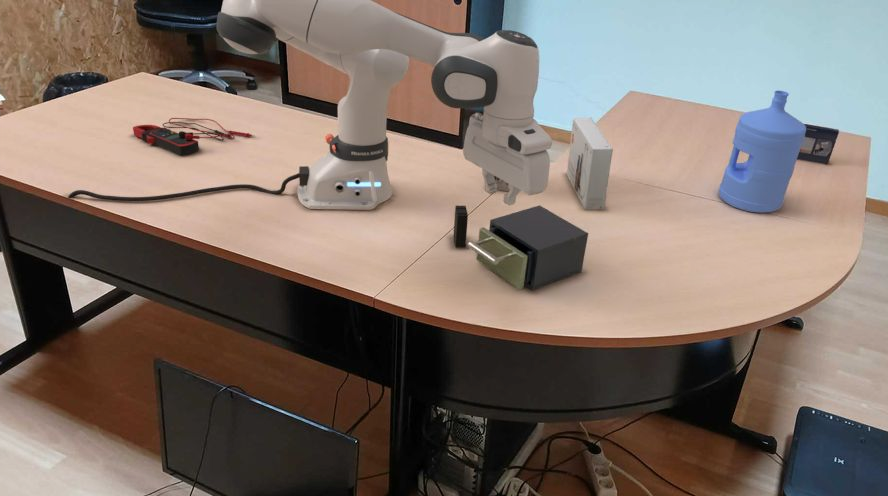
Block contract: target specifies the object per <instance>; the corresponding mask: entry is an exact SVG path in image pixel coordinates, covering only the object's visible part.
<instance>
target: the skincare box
mask: <svg viewBox="0 0 888 496" xmlns="http://www.w3.org/2000/svg"><path fill="white" fill-rule="evenodd" d="M613 151H614V148H613V146H612V145H611V144H610V142H609V141H608V140H607V137H606V136H605V135H604V133H603V132H602V130H601V129H600V128H599V127H598V125H597V123H596V122H595V121H594V118H592V117H591V116H590V117H573V118H572V125H571V133H570V141H569V150H568V159H567V166H566V167H567V168H566V176H567V178H568V180H569V181H570V184H571V186H572V187H573V190H574V191H575V194H576V195H577V197H578V199H579V202H580V203H581V205H582V207H583V209H584V210H587V211H589V210H590V211H591V210H592V211H593V210H596V211H597V210H598V211H599V210H600V211H601V210H602V211H603V210H605V207H606V198H607V190H608V186H609V179H610V171H611V164H612V158H613Z"/></svg>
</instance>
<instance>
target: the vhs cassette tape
mask: <svg viewBox="0 0 888 496" xmlns="http://www.w3.org/2000/svg"><path fill="white" fill-rule="evenodd" d="M803 124H804V125H805V126H806V133H805V137H804V141H803V144H802V146H801V148H800V151H799V154H798V157H797V160H800V161H805V162H811V163H817V164H822V165H828V164H829V162H830V160H831V156H832V155H833V151H834V148H835V145H836V144H837V143H836V142H837V140H838V137H839V133H840V130H839V129H838V128H834V127H833V128H832V127H828V126H827V127H826V126H819V125H814V124H808V123H803Z"/></svg>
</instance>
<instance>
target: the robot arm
mask: <svg viewBox="0 0 888 496" xmlns="http://www.w3.org/2000/svg"><path fill="white" fill-rule="evenodd" d="M215 27H216V31H217V33H218V35H219V37H220V38H222V39H223V40H224V41H225V42H226V43H227V44H228V45H229V46H230V47H231V48H233V49H234V50H236V51H238V52H241V53H243V54H247V55H248V54H249V55H260V56H261V55H263V54H265V53H267V52H269V51H270V50H271V49H272V47H273V46H274V44H276V42H278V41H281V42H283V43H285V44H287V45H289V46H291V47H293V48H294V49H297V50H299V51H300V52H303V53H305V54H306V55H309V56H311V57H312V58H314V59H316V60H318V61H319V62H322V63H324V64H325V65H327V66H329V67H331V68H333V69H334V70H336V71H339V72H341V73H343V74H345V75H348V78H349V84H348V89H347V93H346V95H345V96H343V97H342V98H341V99H340V100H339V101H338V103H337V134H336V136H334V134H332V133H327V134H326V135H325V137H324V139H325V142H326V143H327V145H329V151H328V152H327V153H325V154H324V155H322V156H321V157H320V158H318V159H317V160H316V161H315V162H313V163H312V164H311V165H309V166H307V165H306V166H305V165H304V166H299V168H298V169H299V170H298V173H296V174H293V175H290V176H289V177H286V178H285V179H284V180H283V181H282V183H281V185H280V189H277V190H270V189H267V188H263V187H261V186H259V185H254V184H245V183H244V184H230V185H222V186H214V187H207V188H201V189H196V190H190V191H184V192H183V191H182V192H177V193H168V194H162V195H151V196H120V195H119V196H116V195H105V194H100V193H95V192H91V191H88V190H83V189H78V190H77V189H76V190H74V191H72V192H71V193H70V194H68V196H67V199H73V198H75V197H76V196H80V195H83V196H87V197H91V198H94V199H97V200H104V201H115V202H116V201H117V202H154V201H161V200H163V201H164V200H170V199H178V198H184V197H185V198H186V197H191V196H196V195H202V194H208V193H214V192H222V191H229V190H241V189H243V190H246V189H247V190H249V189H250V190H255V191H258V192H261V193H265V194H269V195H274V196H275V195H277V196H278V195H282V194H283V193H284V192H285V191H286V188H287V184H289V183H290V182H291V181H294V180H297V179H299V184H298V186H297V188H296V189H297V192H296V193H297V198H298V201H299V202H300V204H301V205H302V206H304V208H307V209H310V210H353V211H354V210H358V211H360V210H361V211H364V210H365V211H370V210H373V209H375V208H376V207H378V205H380V204H382V203H384V202H387V200H390V198H391V197H392V196H393V190H392V187H391V183H390V182H391V181H390V177H389V170H388V160H389V159H388V158H389V138H388V136H387V122H388V121H387V119H388V106H389V102H390V99H391V98H390V97H391V95H392V93H393V90H394V89H395V87H397V85H399V84H400V83H401V82H402V81H403V80H404V78H405V77H406V75H407V73H408V71H409V67H410V66H409V65H410V58H412V59H413V60H416V61H419V62H421V63H424V64H427V65H428V66H431V67H433V69H432V73H431V78H430V83H431V88H432V91H433V93H434V95H435V97H436V98H437V99H438V101H439V102H441V103H442V104H443V105H445V106H446V107H449V108H452V109H476V108H478V109H479V108H483V113H480V112H475V113H473V114H472V115H471V116H470V117H469V122H468V126H467V128H466V131H465V135H464V141H463V148H462V149H463V150H462V154H463V156H464V159H465V160H466V161H468V162H470V163H471V164H473V165H475V166H476V167H478V168H480V169H482V171H481V175H482V177H483V180H484V184H485V185H484V191H485V193H487V194H489V195H493V194H497V193H498V190H497V186H498V184H496V183H495V179H494V176H496V177H498V178H499V179H501V180H503V181H505V182H506V183H508V184H509V185H508V188H509V189H510V191H507V193H504V194H503V199H502V202H503V203H504V204H506V205H507V206H513V205H515V203H516V199H517V196H518V194H519V193H520V192H522V193H524V194H526V195H527V196H534V195H538V194H541V193H543V192H544V191H546V189H547V187H548V182H549V176H550V166H551V160H550V159H551V157H550V154H549V152H548V150H550V149H551V148H552V145H553V139H552V137H551V136H550V135H549V134H548V133H547V132H546V131H545V130H544V129H543V128H542V126H541V125H540V124H539V123H538V122H537V120H536V119H535V118H534V116H535V105H534V100H535V95H536V93H537V91H538V86H539V77H540V51H539V46H538V44H537V43H536V42H535V40H534V39H533V38H531V37H530V36H528V35H527V34H525V33H523V32H519V31H517V30H516V31H515V30H509V29H501V30H497V31H495V32H494V33H493V34H492V35H490V36H487V38H484V37H482V36H481V35H478V34H476V33H470V32H450V31H444V30H441V29H438V28H436V27H433V26H431V25H429V24H426V23H424V22H421V21H419V20H416V19H414V18H411V17H409V16H407V15H404V14H401V13H398V12H396V11H394V10H392V9H389V8H387V7H385V6H383V5H381V4H379V3H377V2H375V1H373V0H222V5H221V10H220V11H218V13H217V19H216V26H215Z"/></svg>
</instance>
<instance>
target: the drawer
mask: <svg viewBox="0 0 888 496" xmlns="http://www.w3.org/2000/svg"><path fill="white" fill-rule="evenodd" d="M467 247H468V248H469V249H470V250H472V251H474V253H476V260H477V262H479V263H481V264H482V265H483V266H485V267H486V268H488V269H489V270H490V271H491V272H493V273H495V274H496V275H498V276H499V277H500V278H502V279H503V280H505V281H506V282H507V283H508V284H510V285H512V286H513V287H515V288H516V289H517V290H522V289H524V286H525V285H524V282H525V283H528V282H531V279H532V272H533V265H534V257H535V252H534V251H533V250H531V249H530V248H528V247H526V246H525V245H523V244H522V243H520V242H519V241H517V240H515V239H514V238H512V237H511V236H509V235H508V234H506V233H505V232H503V231H501V230H500V229H498V228H497V227H493V228H491V232H490V231H489V229H487V228H485V227H481V228H479V230H478V241H473V240H470V241H469V242H468V244H467Z"/></svg>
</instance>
